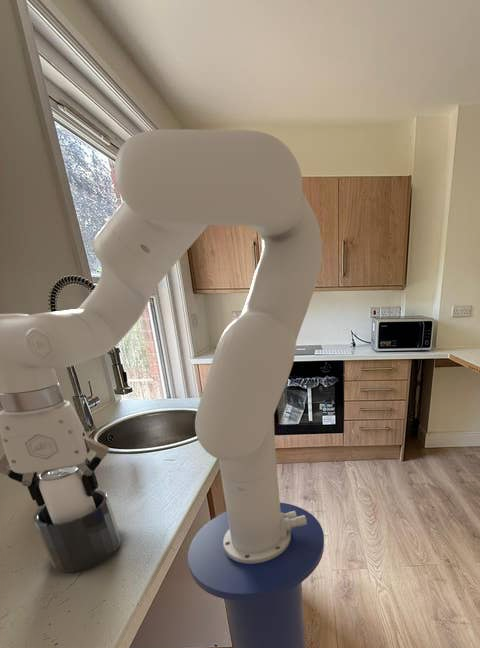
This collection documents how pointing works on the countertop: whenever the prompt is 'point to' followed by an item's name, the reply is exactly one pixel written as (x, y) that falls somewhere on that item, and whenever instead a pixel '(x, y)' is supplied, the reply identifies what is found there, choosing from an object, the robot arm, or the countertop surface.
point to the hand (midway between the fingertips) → (68, 496)
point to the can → (65, 494)
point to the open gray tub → (80, 537)
